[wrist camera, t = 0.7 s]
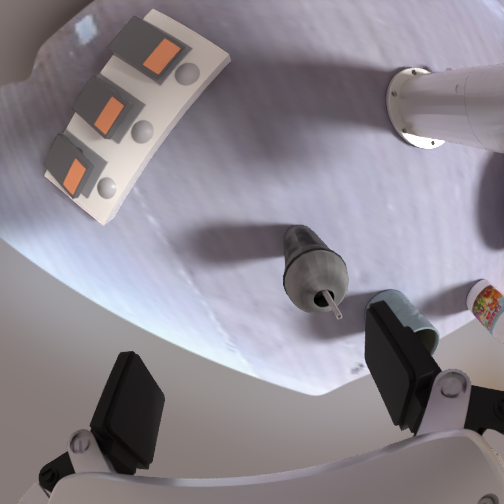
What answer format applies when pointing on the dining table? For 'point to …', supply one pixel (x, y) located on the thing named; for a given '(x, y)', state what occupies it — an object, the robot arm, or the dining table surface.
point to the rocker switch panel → (141, 116)
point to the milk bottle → (488, 307)
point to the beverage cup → (313, 272)
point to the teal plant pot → (410, 318)
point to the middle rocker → (101, 107)
